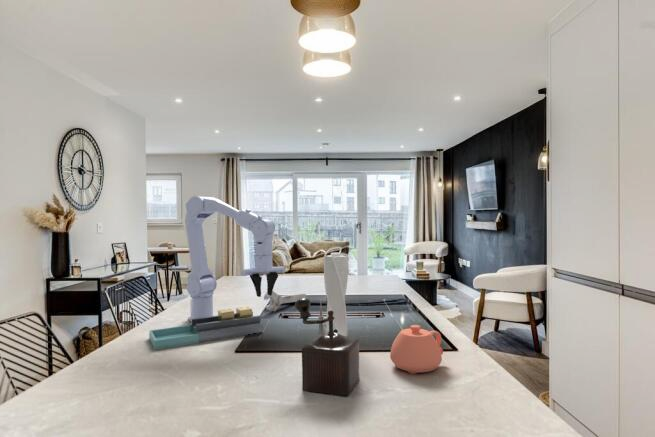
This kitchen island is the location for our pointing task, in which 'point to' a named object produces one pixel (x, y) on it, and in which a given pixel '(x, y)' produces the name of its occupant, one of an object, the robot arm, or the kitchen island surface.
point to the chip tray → (172, 337)
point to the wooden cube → (243, 312)
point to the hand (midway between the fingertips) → (264, 295)
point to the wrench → (281, 300)
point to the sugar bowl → (416, 350)
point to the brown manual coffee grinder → (328, 358)
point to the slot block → (225, 327)
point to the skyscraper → (335, 291)
